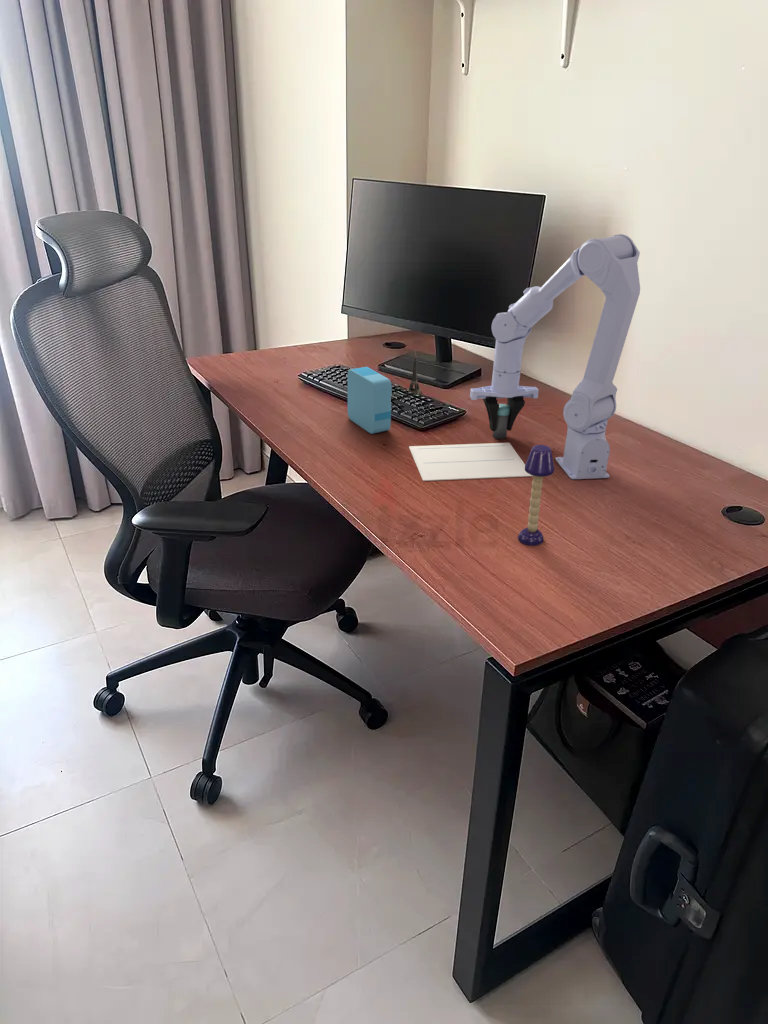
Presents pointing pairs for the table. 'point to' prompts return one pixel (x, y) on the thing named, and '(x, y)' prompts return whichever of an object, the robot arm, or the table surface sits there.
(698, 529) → the table surface
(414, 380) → the eiffel tower figurine
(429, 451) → the paper
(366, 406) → the light blue block
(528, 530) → the toy lamp
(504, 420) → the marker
